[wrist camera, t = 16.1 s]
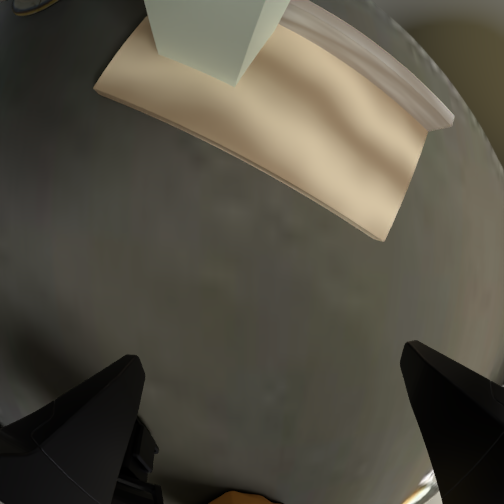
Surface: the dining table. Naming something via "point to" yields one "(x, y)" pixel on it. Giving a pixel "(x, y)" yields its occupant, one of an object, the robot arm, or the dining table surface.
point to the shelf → (298, 111)
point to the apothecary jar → (30, 6)
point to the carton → (214, 32)
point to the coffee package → (240, 499)
